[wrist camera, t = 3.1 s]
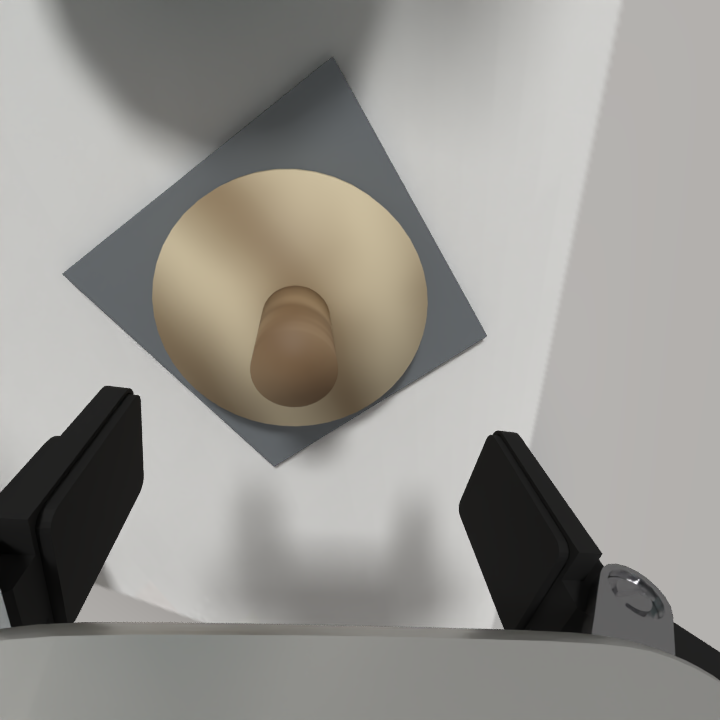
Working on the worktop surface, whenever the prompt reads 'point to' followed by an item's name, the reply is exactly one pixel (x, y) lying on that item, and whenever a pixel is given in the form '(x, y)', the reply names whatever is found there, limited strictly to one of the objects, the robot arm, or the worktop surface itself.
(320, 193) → the lid
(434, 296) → the mat
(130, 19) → the worktop surface
